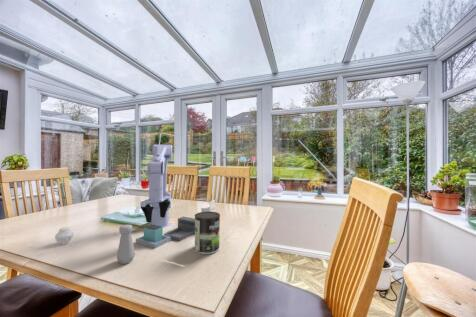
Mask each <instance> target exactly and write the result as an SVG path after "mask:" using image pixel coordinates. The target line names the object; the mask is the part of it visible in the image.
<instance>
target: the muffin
mask: <svg viewBox="0 0 476 317" xmlns="http://www.w3.org/2000/svg"><path fill="white" fill-rule="evenodd" d="M73 236H74V231H71V229H70V227H67V226H65V227H61V228H60V229H59V230H58V232H57V233H56V234H55V236H54V239H55V241H56V242H57V243H58V244H59V245H61V246H62V245H68V244H70V241H71V240H72V238H73Z"/></svg>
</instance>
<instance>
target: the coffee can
mask: <svg viewBox="0 0 476 317" xmlns="http://www.w3.org/2000/svg"><path fill="white" fill-rule="evenodd" d="M194 218H195V233H194V250H195V252H196V253H199V254H201V255H212V254H216V253H217V252H218V251H219V250H220V226H221V225H220V224H221V223H220V222H221V221H220V220H221V214H220V213H219V212H216V211H215V212H201V211H200V212H197V213H195V215H194Z"/></svg>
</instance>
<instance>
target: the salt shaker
mask: <svg viewBox="0 0 476 317" xmlns="http://www.w3.org/2000/svg"><path fill="white" fill-rule="evenodd" d="M118 230H119V231H118V232H119V234H120V237H119V238H120V239H119V243H118V249H117V254H116V259H117V262H118V264H120V265H128V264H130V263H131V262H133V260H134V258H135V256H136V252H135V246H134V241H133V235H132V232H133V225H132V224H123V225H120V227H119V228H118Z"/></svg>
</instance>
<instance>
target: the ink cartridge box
mask: <svg viewBox="0 0 476 317" xmlns="http://www.w3.org/2000/svg"><path fill="white" fill-rule="evenodd" d="M200 210H201V211H200V212H216V201H215V198H214V199H212V200H211V201H209V204H208V203H207V204H205V205H204V206H202V207H201V209H200Z"/></svg>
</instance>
